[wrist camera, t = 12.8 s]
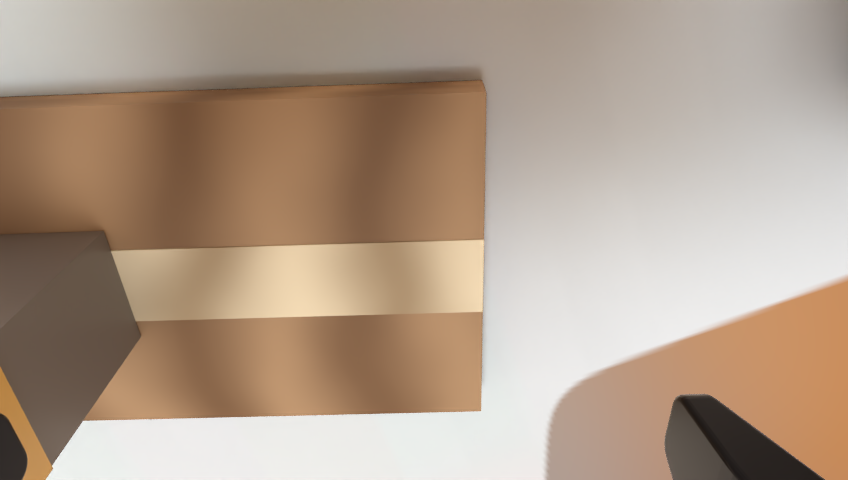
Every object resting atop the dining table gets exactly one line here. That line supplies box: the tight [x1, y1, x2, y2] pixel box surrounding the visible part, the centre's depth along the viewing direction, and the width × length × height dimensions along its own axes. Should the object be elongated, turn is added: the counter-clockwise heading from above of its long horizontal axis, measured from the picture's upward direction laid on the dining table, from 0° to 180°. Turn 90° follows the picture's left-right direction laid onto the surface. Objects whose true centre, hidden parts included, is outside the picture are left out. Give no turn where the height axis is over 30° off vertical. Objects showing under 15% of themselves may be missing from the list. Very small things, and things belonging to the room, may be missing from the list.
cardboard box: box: [0, 80, 486, 421], centre depth 21 cm, size 20×13×2 cm, turn 92°
